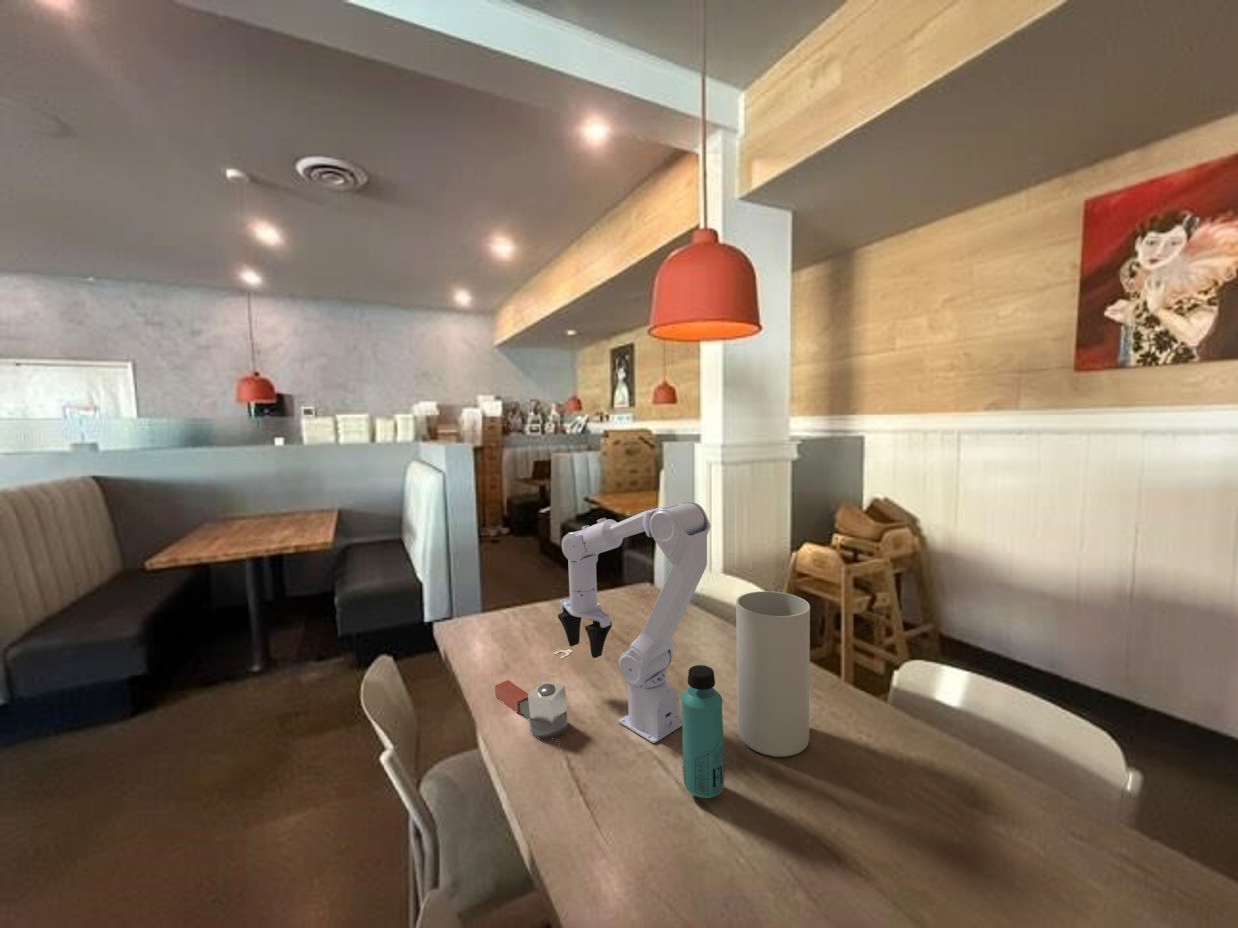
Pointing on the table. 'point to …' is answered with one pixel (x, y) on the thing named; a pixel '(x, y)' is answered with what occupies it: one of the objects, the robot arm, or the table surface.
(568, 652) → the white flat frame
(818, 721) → the table surface
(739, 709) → the cylinder vase
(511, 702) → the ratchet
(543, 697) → the cube block
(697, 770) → the beverage bottle
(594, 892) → the table surface
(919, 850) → the table surface
